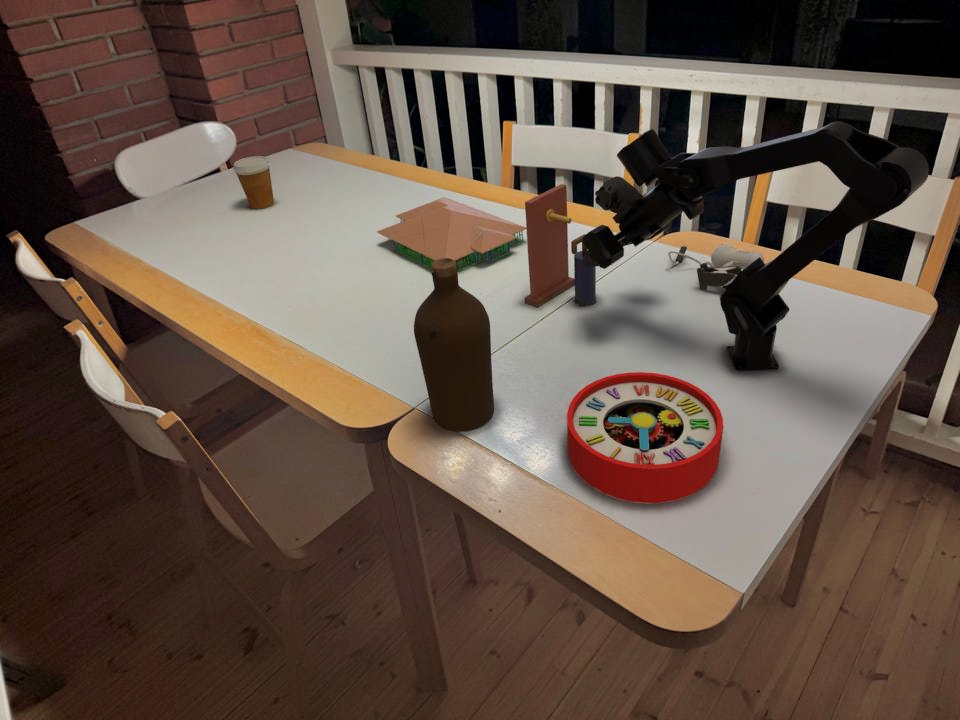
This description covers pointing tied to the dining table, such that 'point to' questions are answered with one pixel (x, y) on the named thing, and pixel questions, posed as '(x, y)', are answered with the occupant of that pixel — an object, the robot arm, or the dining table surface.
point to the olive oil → (455, 352)
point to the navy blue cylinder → (583, 276)
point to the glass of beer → (255, 180)
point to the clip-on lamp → (720, 264)
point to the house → (451, 231)
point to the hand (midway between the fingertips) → (599, 254)
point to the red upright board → (547, 245)
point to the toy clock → (644, 437)
